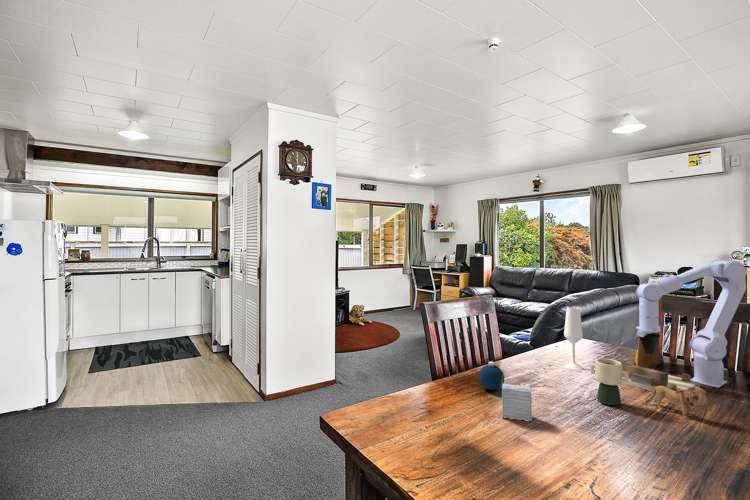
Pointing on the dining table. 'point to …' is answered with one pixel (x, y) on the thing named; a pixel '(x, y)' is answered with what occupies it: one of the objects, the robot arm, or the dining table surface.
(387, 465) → the dining table surface
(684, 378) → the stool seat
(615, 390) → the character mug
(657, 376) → the wooden board
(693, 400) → the lion figurine
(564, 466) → the dining table surface
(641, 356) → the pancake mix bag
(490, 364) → the christmas ornament
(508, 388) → the medicine box
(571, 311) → the champagne flute
